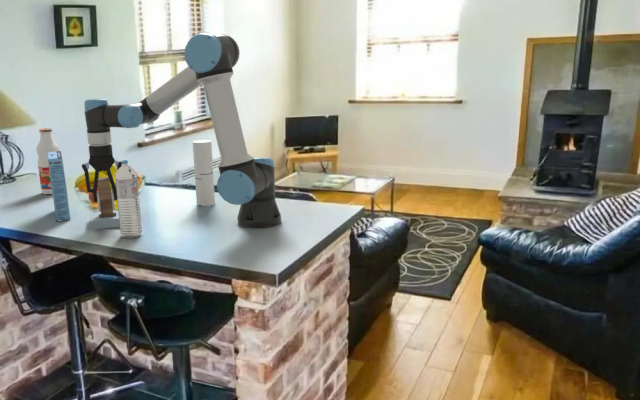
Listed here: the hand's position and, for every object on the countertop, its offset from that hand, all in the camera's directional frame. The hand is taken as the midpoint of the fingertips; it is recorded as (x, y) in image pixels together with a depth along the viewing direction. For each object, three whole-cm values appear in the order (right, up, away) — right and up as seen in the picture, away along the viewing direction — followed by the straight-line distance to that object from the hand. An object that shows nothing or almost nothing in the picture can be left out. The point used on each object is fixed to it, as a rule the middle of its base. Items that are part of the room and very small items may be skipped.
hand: (106, 210), depth 212 cm
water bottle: (+13, -8, -14) cm, 21 cm away
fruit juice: (-42, +7, +53) cm, 68 cm away
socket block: (0, -5, +1) cm, 5 cm away
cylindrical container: (+30, +2, +27) cm, 40 cm away
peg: (0, -3, +1) cm, 3 cm away
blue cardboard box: (-22, -2, +14) cm, 26 cm away
